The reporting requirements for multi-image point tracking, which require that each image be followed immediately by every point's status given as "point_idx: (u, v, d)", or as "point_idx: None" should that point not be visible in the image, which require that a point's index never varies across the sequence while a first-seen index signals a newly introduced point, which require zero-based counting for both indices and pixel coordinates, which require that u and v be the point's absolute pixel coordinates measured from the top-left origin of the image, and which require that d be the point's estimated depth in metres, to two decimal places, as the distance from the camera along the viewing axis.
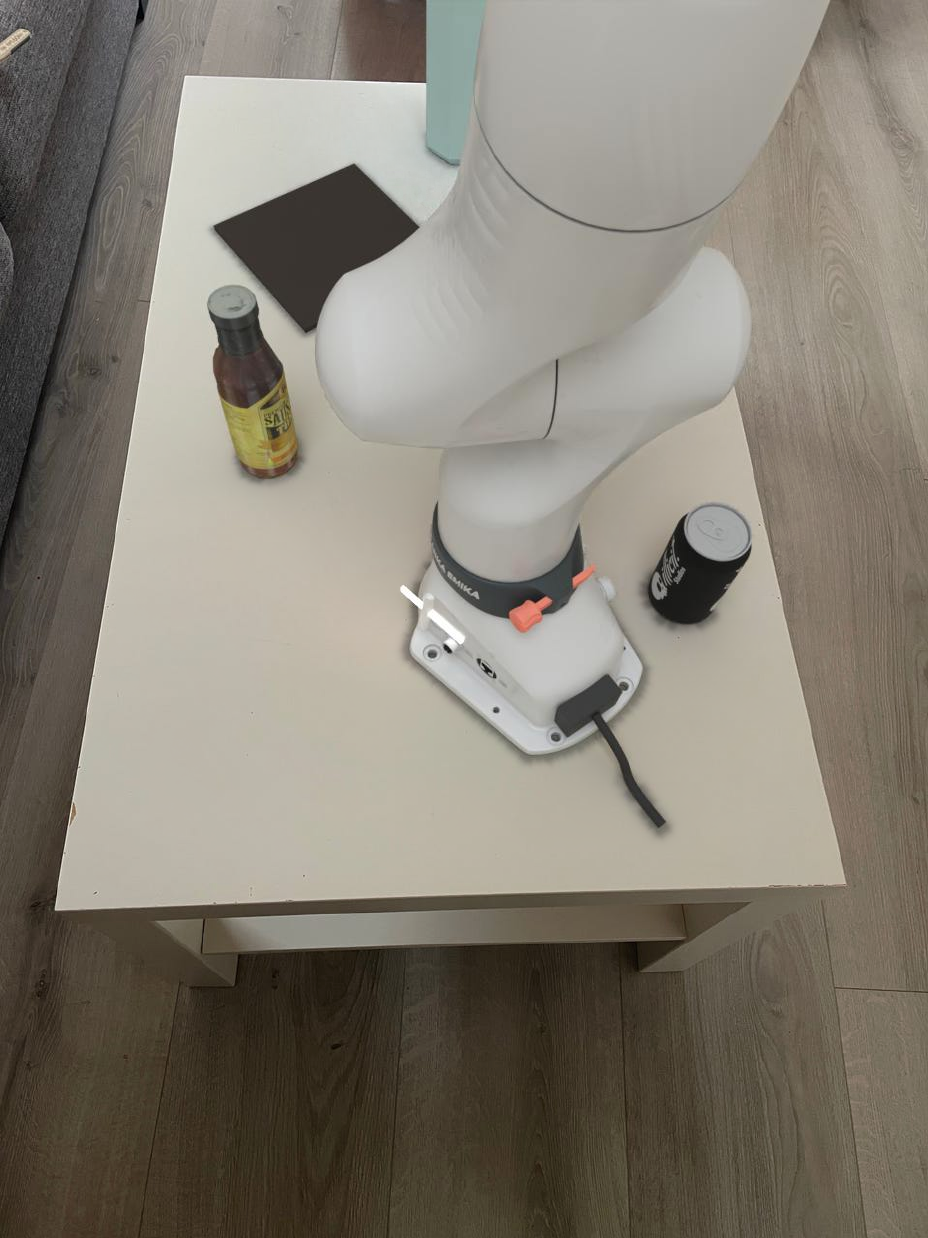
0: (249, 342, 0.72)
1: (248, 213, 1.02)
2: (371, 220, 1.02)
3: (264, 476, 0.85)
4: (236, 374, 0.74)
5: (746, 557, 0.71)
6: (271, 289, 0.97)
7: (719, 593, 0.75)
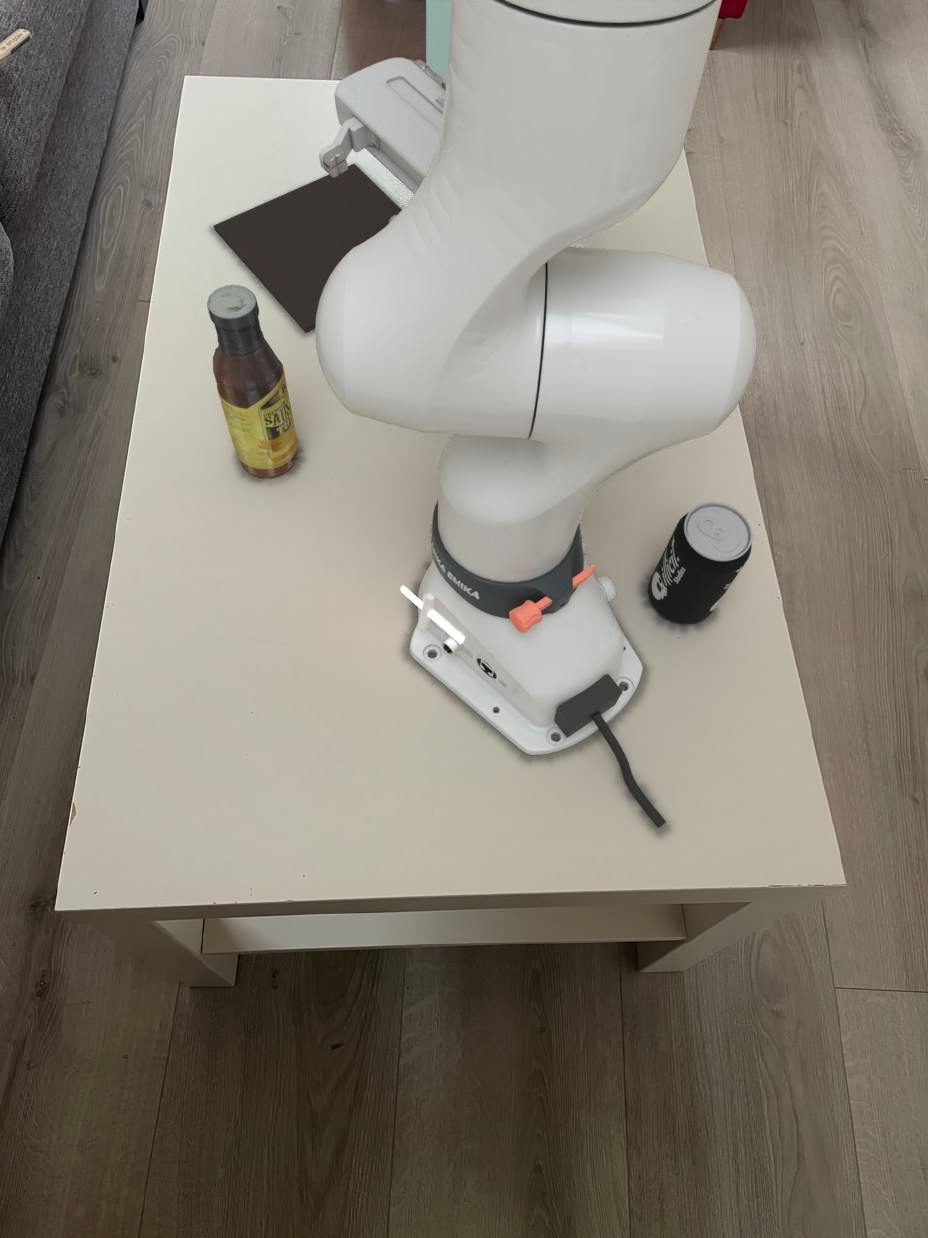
0: (249, 342, 0.72)
1: (248, 213, 1.02)
2: (371, 220, 1.02)
3: (264, 476, 0.85)
4: (236, 374, 0.74)
5: (746, 557, 0.71)
6: (271, 289, 0.97)
7: (719, 593, 0.75)
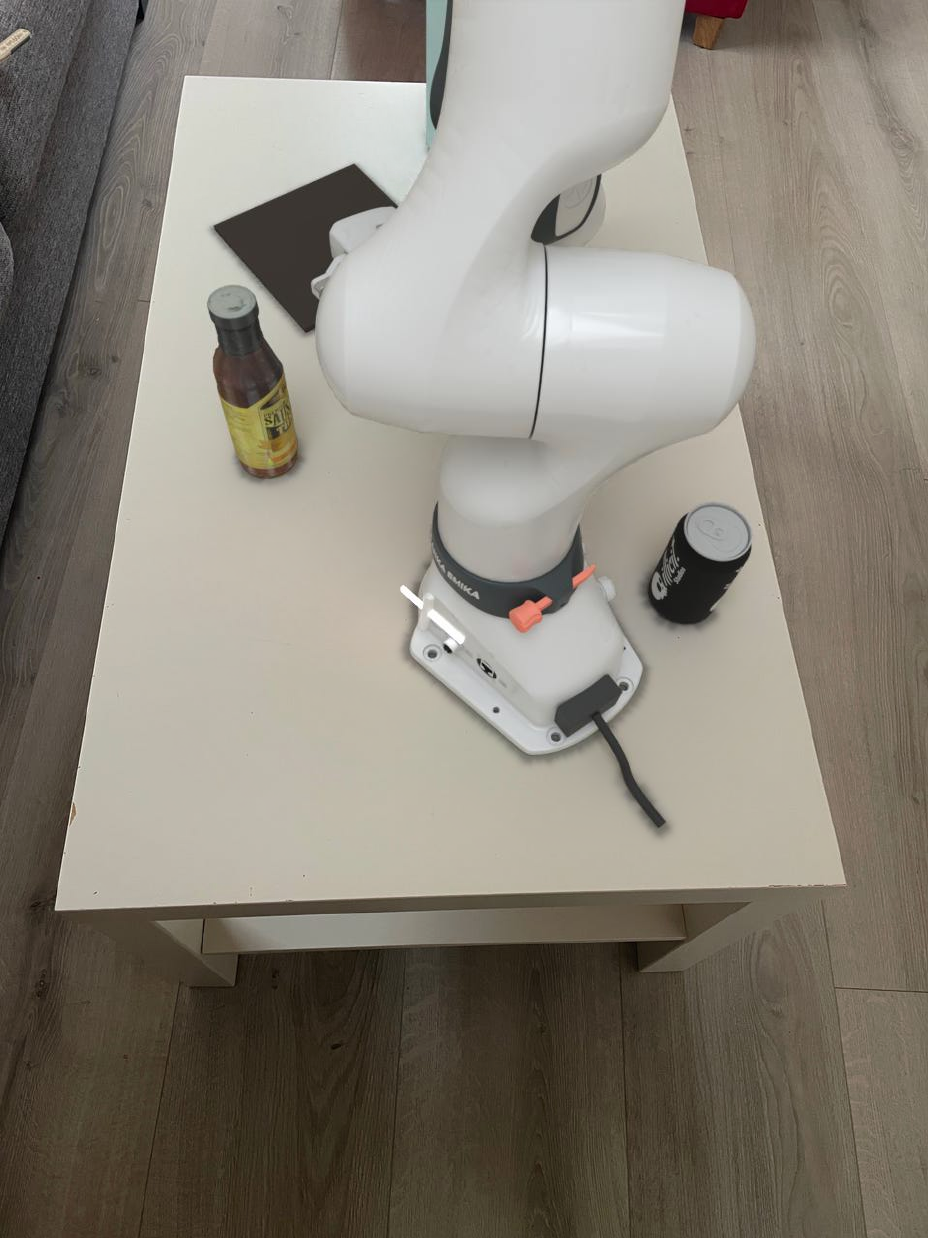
0: (249, 342, 0.72)
1: (248, 213, 1.02)
2: None
3: (264, 476, 0.85)
4: (236, 374, 0.74)
5: (746, 557, 0.71)
6: (271, 289, 0.97)
7: (719, 593, 0.75)
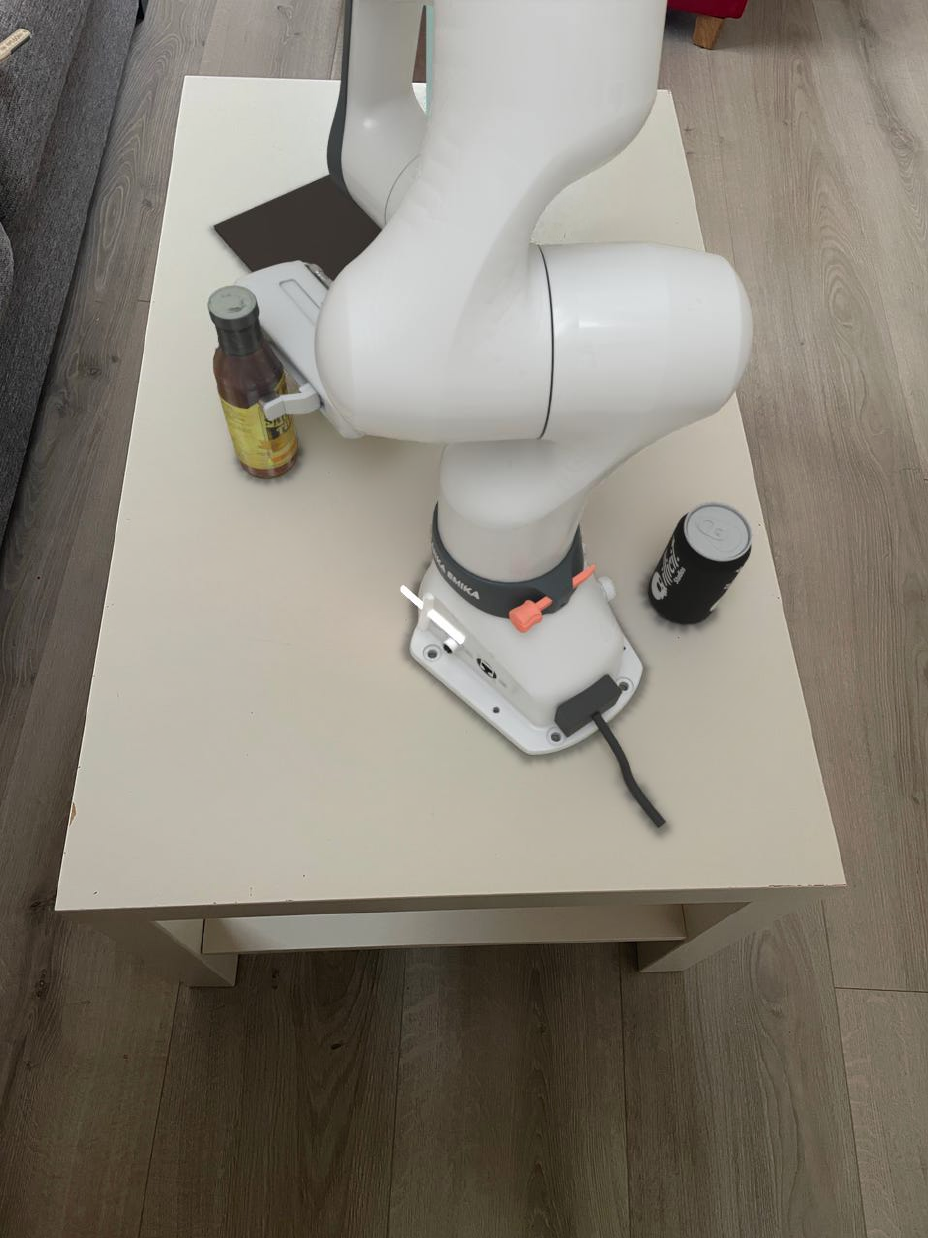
0: (249, 343, 0.72)
1: (248, 213, 1.02)
2: (371, 220, 1.02)
3: (264, 476, 0.85)
4: (236, 375, 0.74)
5: (746, 557, 0.71)
6: None
7: (719, 593, 0.75)
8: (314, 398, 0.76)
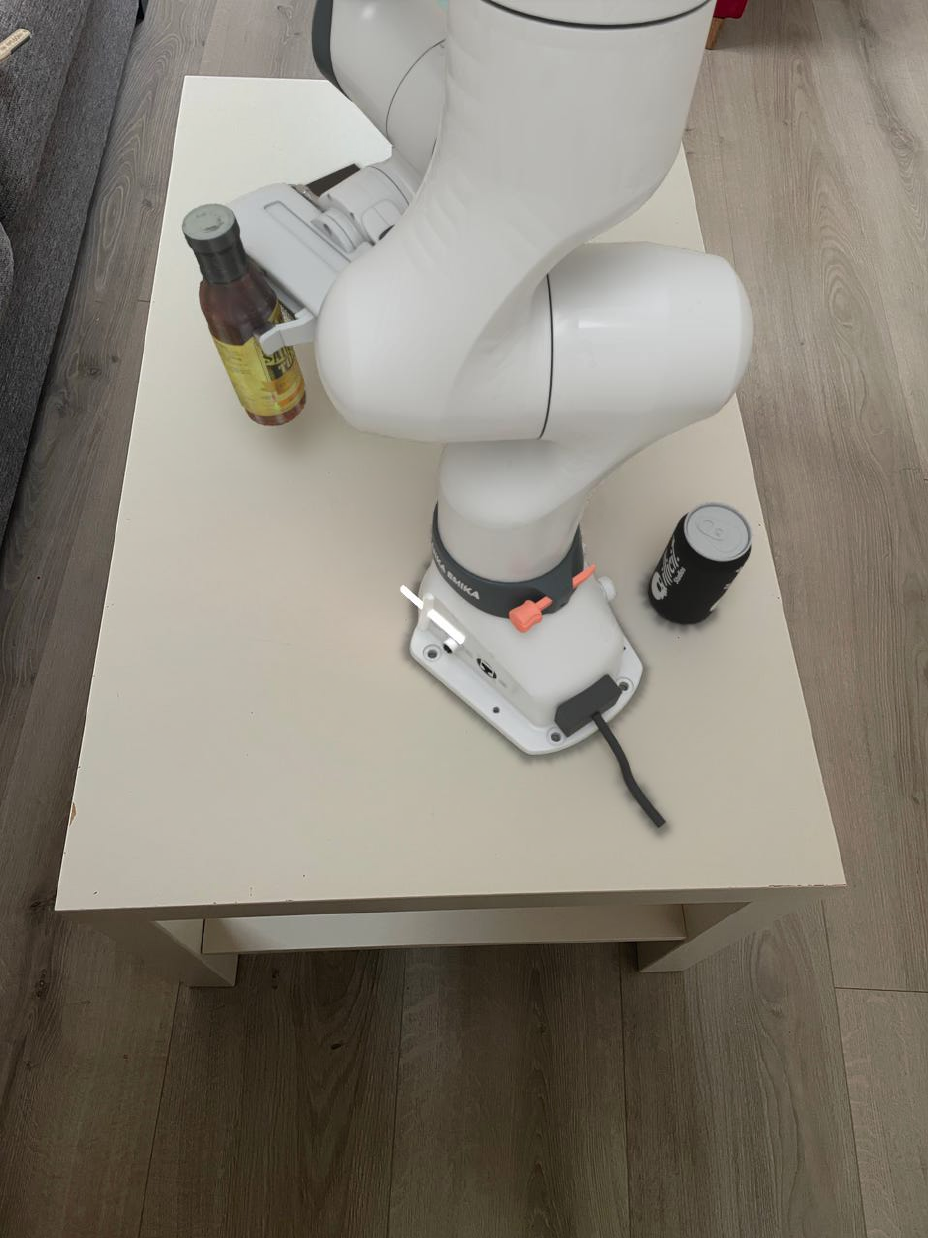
0: (234, 267, 0.65)
1: None
2: None
3: (273, 424, 0.78)
4: (224, 307, 0.67)
5: (746, 557, 0.71)
6: None
7: (719, 593, 0.75)
8: (313, 324, 0.69)
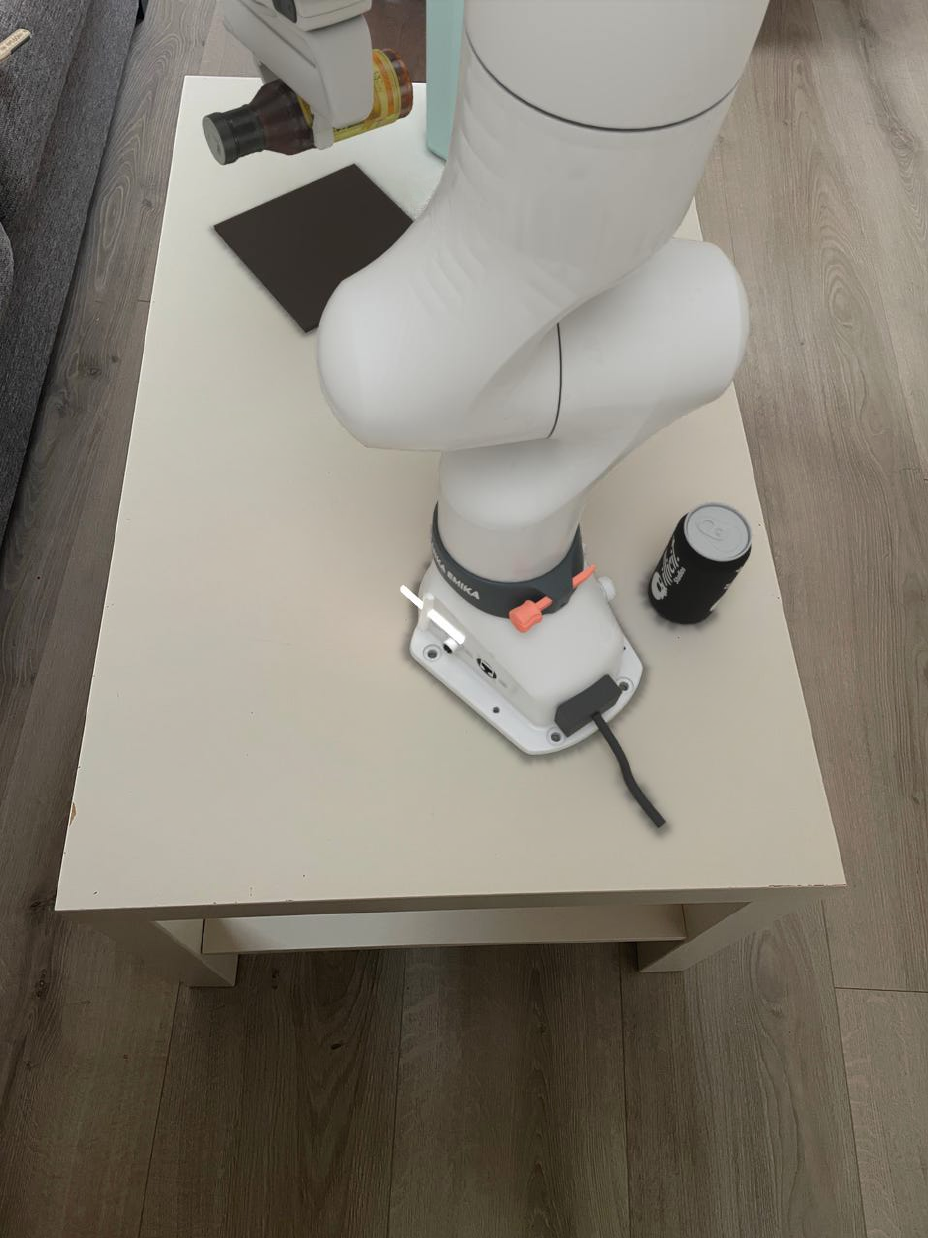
0: (254, 141, 0.76)
1: (248, 213, 1.02)
2: (371, 220, 1.02)
3: (407, 114, 0.83)
4: (283, 151, 0.79)
5: (746, 557, 0.71)
6: (271, 289, 0.97)
7: (719, 593, 0.75)
8: None
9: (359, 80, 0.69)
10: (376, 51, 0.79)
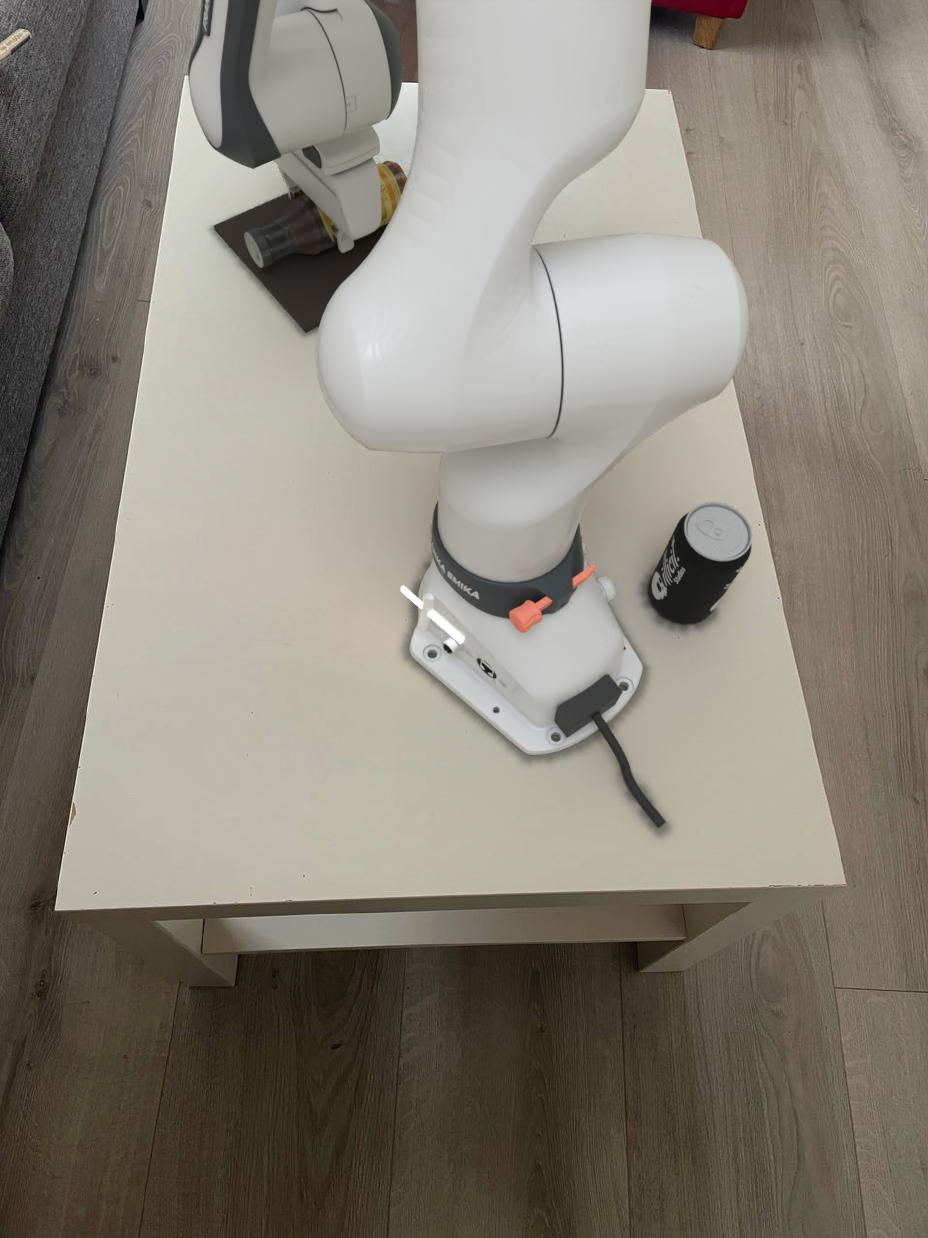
0: (285, 249, 0.95)
1: (248, 213, 1.02)
2: None
3: None
4: (308, 252, 0.98)
5: (746, 557, 0.71)
6: (271, 289, 0.97)
7: (719, 593, 0.75)
8: None
9: (370, 206, 0.87)
10: (382, 166, 0.97)
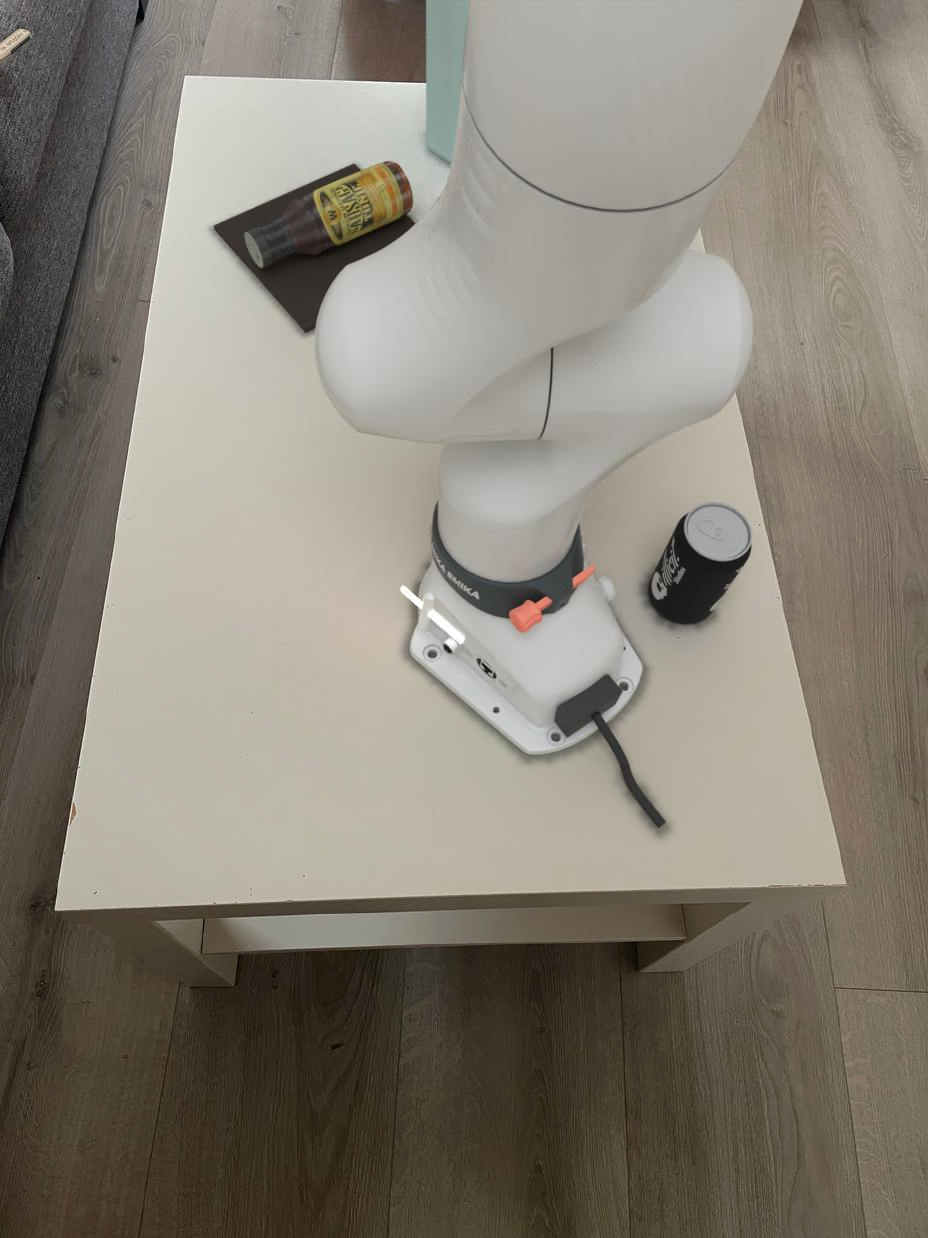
0: (285, 249, 0.95)
1: (248, 213, 1.02)
2: None
3: (408, 211, 1.01)
4: (308, 252, 0.98)
5: (746, 557, 0.71)
6: (271, 289, 0.97)
7: (719, 593, 0.75)
8: None
9: None
10: (382, 166, 0.97)
